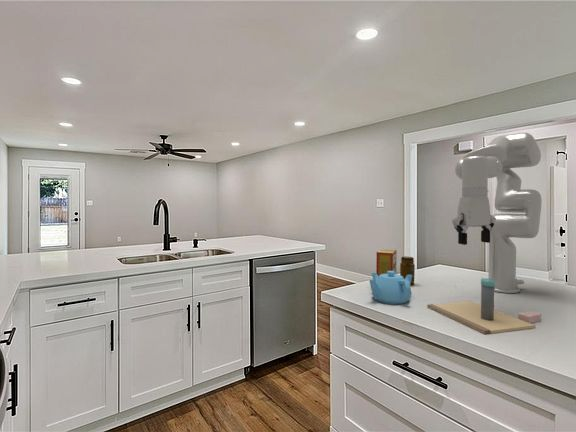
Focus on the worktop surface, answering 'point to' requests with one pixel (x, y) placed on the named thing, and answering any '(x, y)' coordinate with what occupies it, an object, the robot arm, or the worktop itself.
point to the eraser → (530, 317)
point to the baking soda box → (385, 261)
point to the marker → (487, 299)
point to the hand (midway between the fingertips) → (474, 243)
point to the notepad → (479, 317)
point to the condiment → (408, 268)
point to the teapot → (391, 288)
